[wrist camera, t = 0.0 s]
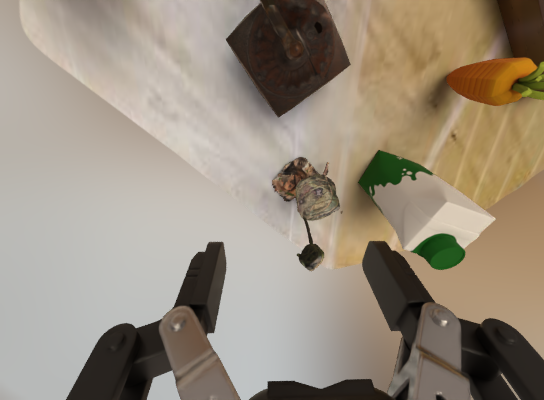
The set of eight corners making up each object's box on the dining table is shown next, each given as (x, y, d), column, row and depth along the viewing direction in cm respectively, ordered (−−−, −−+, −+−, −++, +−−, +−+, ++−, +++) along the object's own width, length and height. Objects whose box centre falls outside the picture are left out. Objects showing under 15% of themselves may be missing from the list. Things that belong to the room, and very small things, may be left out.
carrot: (425, 92, 35) (515, 110, 22) (442, 55, 32) (556, 51, 19) (453, 97, 35) (557, 118, 23) (473, 61, 33) (603, 61, 20)
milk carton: (351, 185, 44) (405, 263, 27) (377, 142, 39) (462, 205, 22) (388, 197, 45) (460, 278, 28) (417, 158, 41) (524, 227, 24)
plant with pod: (334, 182, 43) (378, 260, 26) (282, 203, 46) (291, 287, 29) (321, 146, 39) (363, 211, 22) (264, 171, 42) (263, 247, 25)
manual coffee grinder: (337, 60, 32) (400, 61, 17) (276, 107, 36) (283, 143, 20) (277, -69, 25) (293, -263, 10) (207, 4, 29) (141, -58, 13)
